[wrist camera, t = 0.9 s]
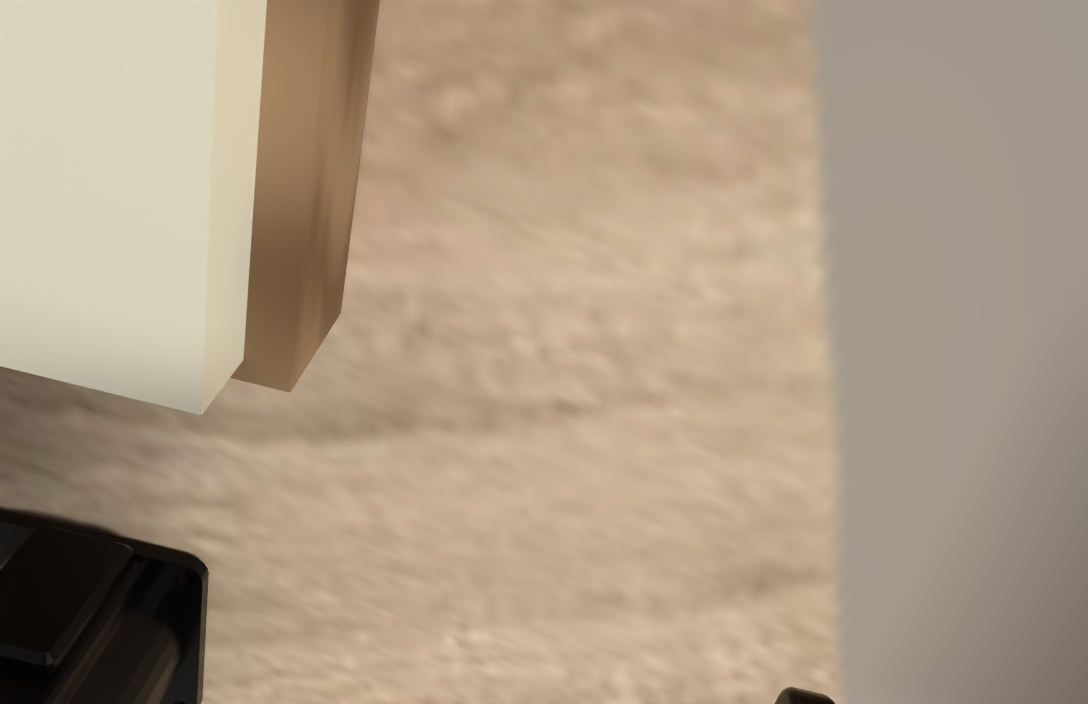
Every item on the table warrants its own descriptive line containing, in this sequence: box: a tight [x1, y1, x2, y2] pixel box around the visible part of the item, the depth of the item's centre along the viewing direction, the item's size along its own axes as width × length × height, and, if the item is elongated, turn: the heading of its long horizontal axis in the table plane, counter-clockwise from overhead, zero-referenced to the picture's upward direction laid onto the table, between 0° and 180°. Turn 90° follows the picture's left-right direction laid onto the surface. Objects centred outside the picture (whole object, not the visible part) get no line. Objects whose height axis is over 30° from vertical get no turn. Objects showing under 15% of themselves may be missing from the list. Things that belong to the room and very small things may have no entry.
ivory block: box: [0, 0, 267, 415], centre depth 16 cm, size 8×6×2 cm
